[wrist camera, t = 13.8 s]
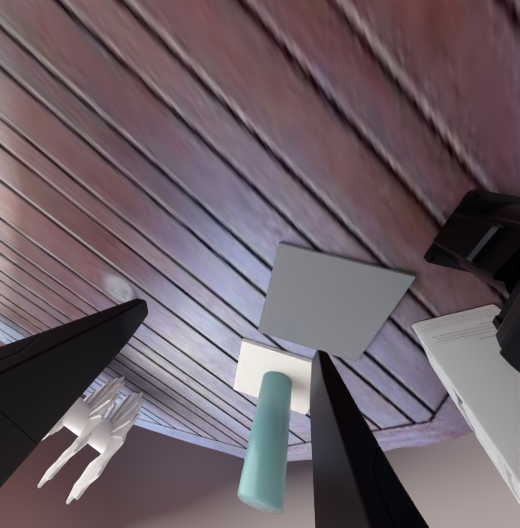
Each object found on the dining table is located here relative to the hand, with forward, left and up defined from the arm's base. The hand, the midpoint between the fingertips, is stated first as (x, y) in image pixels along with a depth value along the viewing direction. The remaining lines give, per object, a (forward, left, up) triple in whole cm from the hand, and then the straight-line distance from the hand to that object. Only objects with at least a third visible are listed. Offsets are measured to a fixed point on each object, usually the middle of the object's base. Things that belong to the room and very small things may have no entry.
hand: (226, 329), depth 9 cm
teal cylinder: (-6, +24, -13) cm, 27 cm away
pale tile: (-6, +24, -13) cm, 28 cm away
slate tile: (-8, +7, -13) cm, 17 cm away
